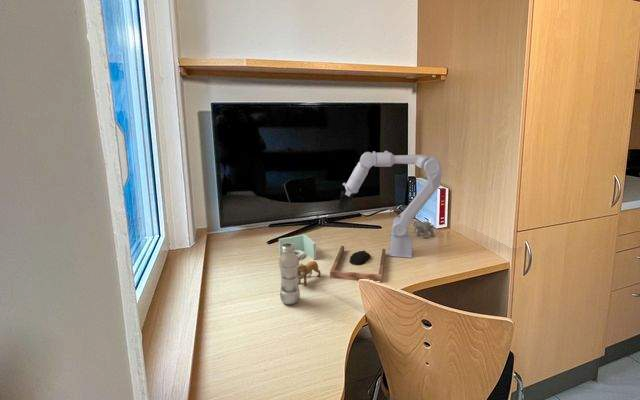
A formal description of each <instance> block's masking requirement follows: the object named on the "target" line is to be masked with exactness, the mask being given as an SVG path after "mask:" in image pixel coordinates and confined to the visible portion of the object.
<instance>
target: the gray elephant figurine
mask: <svg viewBox="0 0 640 400" xmlns="http://www.w3.org/2000/svg"><path fill="white" fill-rule="evenodd" d="M412 225H413V227H414V230H413V234H416V236H419V235H420V233H421V234H423V235H424V239H429V237H430V236H431V237H435V235H436V233H435V231H434V227H435V226H434V224H432V223H431V222H428V221H417V220H415V221H414V222H413V224H412ZM429 233H430V234H431V235H429Z"/></svg>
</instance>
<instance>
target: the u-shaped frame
mask: <svg viewBox="0 0 640 400" xmlns="http://www.w3.org/2000/svg"><path fill="white" fill-rule="evenodd" d="M344 253H345V246H344V245H341V246H340V248H339V251H338V252H337V256H336V257H335V259H334V262H333V265H332V266H331V269H330V271H329V278H330V279H339V280H352V281H359V279H369V280H373V281H380V282H379V283H381V282H382V280H383V275H384V266H385V261H386V260H385V258H386V248H382V251H381V256H380V264H379V269H378V274H377V273H367V272H365V273H364V272H356V271H355V272H353V271H344V270H338V267H339V265H340V262H341V261H342V258H343V256H344Z"/></svg>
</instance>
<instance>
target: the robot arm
mask: <svg viewBox="0 0 640 400" xmlns="http://www.w3.org/2000/svg"><path fill="white" fill-rule="evenodd" d="M394 164H397V165H399V164H402V165H403V164H404V165H415V166H417V167H418V168H420V169H422V167H423V170H424V172H425V174H426V179H427V181H426V182H425V184H424V185H423V186H422V187H421V188H420V190H419V191H418V193H417V194H416V195H415V196H414V198H413V199H412V200H411V201H410V203H409V204H408V205H407V207H405V209H404V210H403V211H402V212H400V214H399V215H397V216H395V217H394V218H393V219H392V222H391V223H392V227H391V231H390V247H389V248H388V257H396V258H406V259H407V258H409V259H410V258H413V252H414V247H413V245H414V244H413V242H414V241H413V240H414V239H413V238H414V237H413V236H414V235H413V234H410V233H409V232H408V229H409V227H410V226H411V224H412V223H413V220H414V218H415V217H416V215H418V213H419V212H420V211H421V209H422V208H423V207H424V206H425V205H426V204H427V202H428V201H429V200H430V199H431V197H432V196H433V195H434V194H435V192H437V190H438V189H439V187H440V186H441V183H442V173H443V168H442V165H441V162H440V160H439V159H438V157H436V156H435V155H432V154H431V155H428V154H405V155H404V154H403V155H402V154H401V155H400V154H397V155H394V154H393V153H392V152H389V151H388V150H384V151H383V152H376V151H374V150H373V151H372V152H370V151H365V152H364V153H363V154H361V156H360V158H359V161H358V162H357V163H356V166H355V167H354V168H353V170H352V173H351V175H350V176H349V178H348V180H347V182H343V183H342V186H344V190H341V191H340V199H339V203H338V206H337V208H339V209H341V210H343V209H344V208H345V207H346V205H348V204H349V203H350V202H352V201H353V200H354V197H353V196H355V195H356V194H357V193H359V190H360V188H361V186H362V184H363V182H364V181H365V179H366V177H367V176H368V173H369V170H370V169H371V168H372V167H373V166H374V167H378V168H381V167H382V168H385V167H389V168H390V167H392V166H393V165H394Z"/></svg>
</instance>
